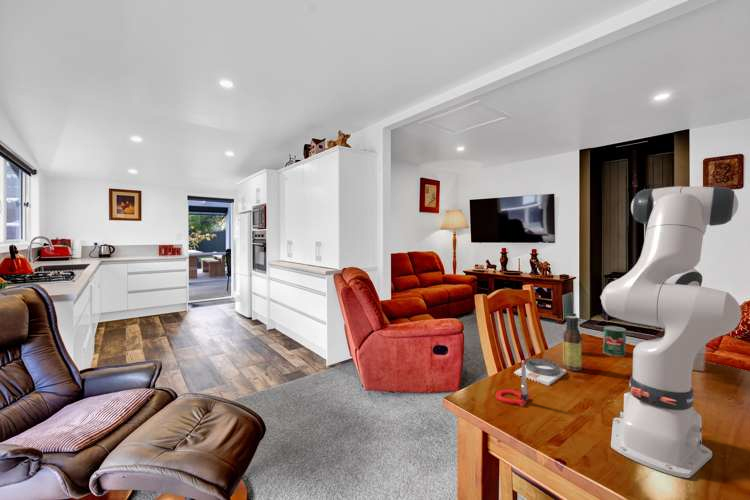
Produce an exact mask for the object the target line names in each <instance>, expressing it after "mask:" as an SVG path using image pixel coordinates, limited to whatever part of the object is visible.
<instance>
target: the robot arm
mask: <svg viewBox="0 0 750 500" xmlns="http://www.w3.org/2000/svg"><path fill="white" fill-rule="evenodd" d="M738 209H739V199H738V197H737V195H736V194H735V191H734V190H733V189H731V188H730V187H728V186H718V185H714V186H713V187H711V186H682V185H679V186H678V185H677V186H666V187H659V188H652V187H651V188H646V189H643V190H642V189H641V190H640V191H638V192H637V193H636V194H635V196H634V198H633V199H632V201H631V203H630V211H631V214H632V217H633V219H634V220H635V221H637V222H638V223H640V224H645V225H647V226H646V231H645V234H644V235H645V237H644V241H643V245H642V250H641V253H640V256H639V258H638V260H637V262H636V264H635V265H634V266H633V267H632V268H631V269H630V270H629V271H628V272H627V273H626V274H624V275H623V276H621V277H620V278H618V279H616V280H613V281H611V282H609V283H608V284H607V285H605V287H604V288H603V290H602V293H601V295H600V296H599V298H600V300H601V305H602V308H603V310H604V311H605V312H606V314H607V315H608V316H610V317H612V318H616V319H618V320H622V321H625V322H628V323H633V324H639V325H644V326H650V327H656V328H660V329H663V330H664V335H663V336H662V337H657V338H654V339H648V340H645V341H641V342H639V343H638V344H636V345H635V347H634V348H633V351H632V374H631V375H630V379H629V382H628V385H629V387H628V388H629V389H628V392H626V393H623V394H624V395H623V411H619V415H618V416H619V417H614V418H613V420H612V426H611V427H612V428H611V437H610V438H611V440H610V447H611V448H612V449H613V450H614V451H616V452H617V453H619V454H621V455H622V456H623V457H626V458H628V459H630V460H632V461H633V462H636V463H638V464H641V465H644V466H646V467H648V468H652V469H654V470H657V471H659V472H661V473H665V474H668V475H671V476H675V477H679V478H685V479H689V478H692V477H693V475H695V474H696V473H697V472H698V471H699V470H700V469H702V467H703V466H704V465H705V464H706V463H707V462H708V461H709V460H710V459H712V458H713V451H712V450H711V449H709V448H708V447H707V446H705V445H704V444H702V443H703V442H702V438H703V436H702V430H703V429H702V428H703V426H702V416H701V415H700V414H699V413H698V412H697V410H695V409H694V407H693V406H694V400H695V394H694V388H692V380H693V379H692V376H693V371H694V370H693V364H694V360H695V357H696V355H697V353H698V352H699V350H700V349H701V348H702V347H703V346H704V345H705V344H706V345H707V344H708V343H710V342H711V341H712V340H714V339H716V338H719V337H721V336H725V335H727V334H730V333H731V332H733V331H734V330H735V329H736V328H737V327H738V326H739V324H740V322H741V320H742V310H741V306H740V304H739V302H738V301H737V299H736V298H735V297H734V296H733V295H732V294H730V293H729V292H727V291H724V290H718V289H715V288H710V287H706V286H702V284H703V275H702V273H700V271H698V270H696V268H695V267H696V266H698V264H699V263H700V262H701V256H702V255H701V254H702V247H703V241H704V240H703V239H704V236H705V234H706V231H707V226H710V227H711V226H712V227H713V226H722V225H726V224H727V223H728V222H730V221H732V219H733V217H734V216H735V214H736V213H737V212H738Z"/></svg>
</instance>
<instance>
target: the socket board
mask: <svg viewBox="0 0 750 500" xmlns="http://www.w3.org/2000/svg"><path fill="white" fill-rule="evenodd" d="M525 368H526V379H527V378H528V379H527V380H530V379H531V380H530V381H533V380H534V381H533V382H536V381H537V383H539V382H540V384H543V385H545V386H550V385H551V384H553V383H554V382H556V381H557V380H559V379H560V378H561V377H562V376H564V375H565V374H567V369H565V368H561V367H560V365H559V364H558V363H557V362H554V361H552V360H548V359H543V358H528V359H527V360H526V363H525ZM514 374H516V375H515V376H517V375H518V377H520V376H522V373H521V367H520V368H518V369H516V370H515V371H514V372H513V375H514Z"/></svg>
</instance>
